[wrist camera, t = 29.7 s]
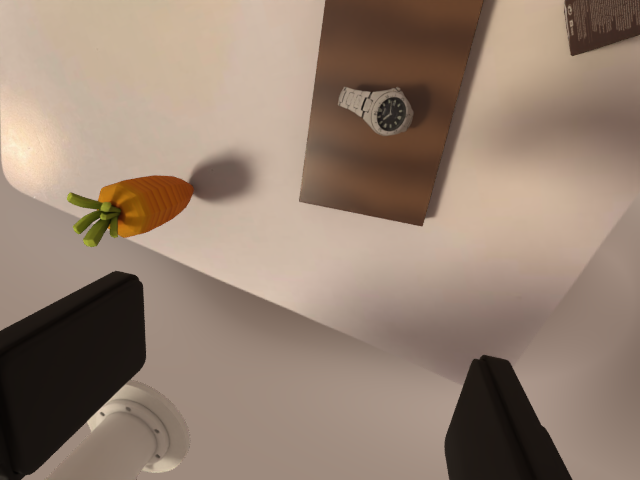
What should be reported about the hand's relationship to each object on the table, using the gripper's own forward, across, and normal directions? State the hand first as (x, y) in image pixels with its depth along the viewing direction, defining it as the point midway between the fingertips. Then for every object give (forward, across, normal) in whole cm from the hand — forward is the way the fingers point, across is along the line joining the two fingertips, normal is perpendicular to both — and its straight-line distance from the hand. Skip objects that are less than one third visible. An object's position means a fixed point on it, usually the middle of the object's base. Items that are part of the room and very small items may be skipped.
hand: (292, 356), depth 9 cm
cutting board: (+27, 0, -8) cm, 28 cm away
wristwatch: (+24, 0, -8) cm, 26 cm away
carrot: (+27, +19, +3) cm, 33 cm away
